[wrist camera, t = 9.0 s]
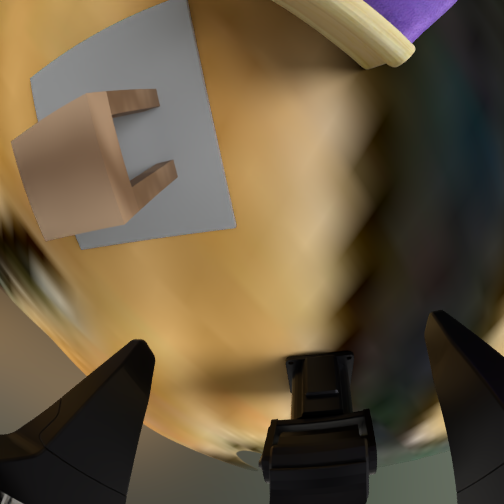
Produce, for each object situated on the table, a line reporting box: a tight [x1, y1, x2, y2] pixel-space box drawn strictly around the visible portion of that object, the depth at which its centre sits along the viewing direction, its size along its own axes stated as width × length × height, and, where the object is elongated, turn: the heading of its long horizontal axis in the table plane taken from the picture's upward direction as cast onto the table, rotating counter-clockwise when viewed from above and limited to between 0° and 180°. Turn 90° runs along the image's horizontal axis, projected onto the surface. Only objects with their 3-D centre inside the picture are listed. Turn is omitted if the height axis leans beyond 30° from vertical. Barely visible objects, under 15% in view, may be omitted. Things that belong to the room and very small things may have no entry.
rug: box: [30, 0, 236, 250], centre depth 16 cm, size 16×14×1 cm
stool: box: [11, 89, 178, 241], centre depth 13 cm, size 6×6×7 cm
